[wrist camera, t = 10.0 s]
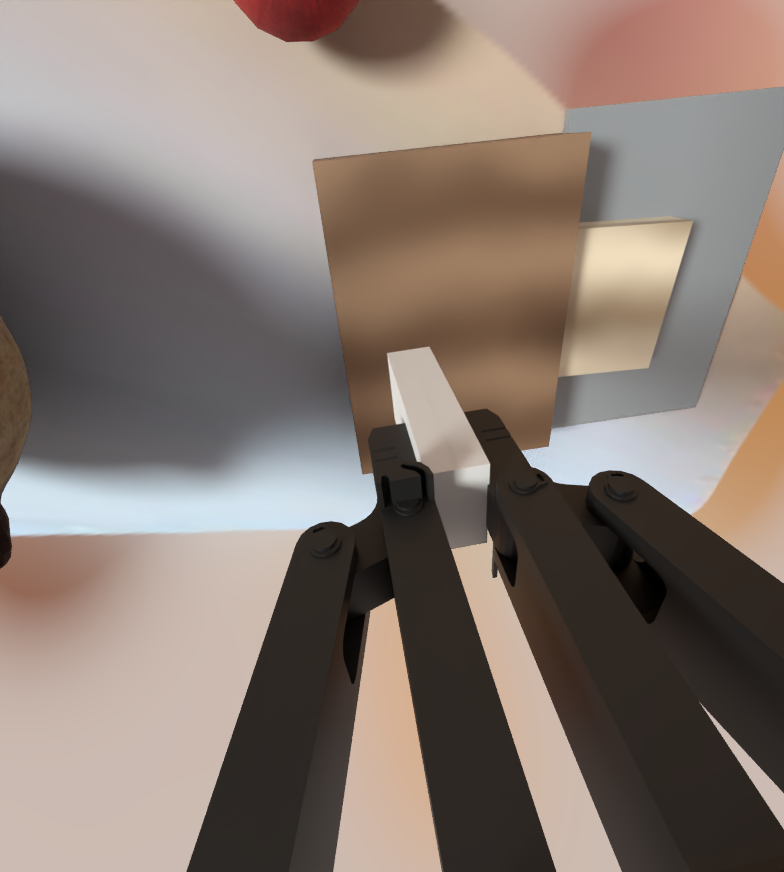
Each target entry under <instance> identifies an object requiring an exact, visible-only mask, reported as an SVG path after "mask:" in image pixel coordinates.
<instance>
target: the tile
mask: <svg viewBox="0 0 784 872" xmlns="http://www.w3.org/2000/svg"><path fill="white" fill-rule="evenodd" d="M692 224H693V221H691V220H686V219H681V218H677V217H672V216H665V217H651V218H637V219H622V220H608V221H594V222H579V228H578V236H577V243H576V250H575V258H574V265H573V272H572V280H571V287H570V294H569V302H568V309H567V316H566V324H565V331H564V338H563V346H562V353H561V360H560V368H559V375H558V377H563V376H573V375H583V374H593V373H603V372H613V371H623V370H633V369H643V368H649V365H650V361H651V358H652V355H653V351H654V348H655V345H656V342H657V338H658V335H659V332H660V329H661V325H662V322H663V319H664V315H665V312H666V309H667V306H668V302H669V299H670V296H671V292H672V289H673V286H674V283H675V279H676V276H677V273H678V270H679V266H680V263H681V260H682V256H683V253H684V250H685V247H686V243H687V240H688V237H689V233H690V230H691V227H692Z"/></svg>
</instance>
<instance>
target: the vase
mask: <svg viewBox="0 0 784 872" xmlns="http://www.w3.org/2000/svg"><path fill="white" fill-rule="evenodd" d="M31 412H32V398H31V392H30V385H29V378H28V374H27V370H26V366H25V363H24V359H23V357H22V354H21V352H20V349H19V347H18V345H17V343H16V342H15V340H14V338H13V337H12V335H11V333H10V331H9V330H8V328H7V326H6V325H5V323H4V321H3V320H2V318H1V316H0V502H1V495H2V492H3V490H4V488H5V486H6V484H7V483H8V481H9V479H10V478H11V476H12V474H13V472H14V470H15V468H16V466H17V464H18V461H19V458H20V455H21V452H22V449H23V447H24V444H25V441H26V438H27V436H28V432H29V426H30V421H31ZM11 549H12V543H11V537H10V528H9V518H8V515H7V513H6V511H5V509H4V508H3V506H2V505H1V503H0V568H2V567H3V566H4V565H5V564H7V562H8V561H9V559H10V557H11Z"/></svg>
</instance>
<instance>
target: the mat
mask: <svg viewBox="0 0 784 872" xmlns="http://www.w3.org/2000/svg"><path fill="white" fill-rule="evenodd" d="M579 132H592V133H591V140H590V148H589V155H588V162H587V170H586V177H585V184H584V192H583V199H582V206H581V214H580V221H579V222H594V221H608V220H622V219H637V218H651V217H665V216H672V217H677V218H681V219H686V220H691V221H693V224H692V227H691V230H690V233H689V237H688V240H687V243H686V247H685V250H684V253H683V256H682V260H681V263H680V266H679V270H678V273H677V276H676V279H675V283H674V286H673V289H672V292H671V296H670V299H669V302H668V306H667V309H666V312H665V315H664V319H663V322H662V325H661V329H660V332H659V335H658V338H657V342H656V345H655V348H654V351H653V355H652V358H651V361H650V365H649V368H643V369H633V370H623V371H613V372H603V373H593V374H583V375H573V376H563V377H558V382H557V390H556V397H555V404H554V412H553V419H552V426H551V428H558V427H565V426H572V425H578V424H585V423H592V422H599V421H605V420H612V419H619V418H626V417H632V416H639V415H646V414H653V413H659V412H666V411H673V410H680V409H686V408H693V407H695V406H696V403H697V400H698V397H699V395H700V392H701V389H702V386H703V383H704V380H705V377H706V374H707V371H708V368H709V365H710V363H711V360H712V357H713V354H714V351H715V348H716V345H717V342H718V339H719V336H720V333H721V330H722V328H723V325H724V322H725V319H726V316H727V313H728V310H729V307H730V304H731V301H732V298H733V296H734V293H735V290H736V287H737V284H738V281H739V278H740V275H741V272H742V269H743V266H744V264H745V260H746V257H747V255H748V251H749V249H750V246H751V243H752V240H753V237H754V234H755V231H756V228H757V226H758V222H759V220H760V217H761V214H762V211H763V208H764V205H765V202H766V199H767V196H768V194H769V191H770V188H771V185H772V182H773V179H774V176H775V173H776V170H777V167H778V164H779V161H780V159H781V156H782V153H783V150H784V87H777V88H767V89H757V90H748V91H740V92H739V91H738V92H729V93H719V94H710V95H700V96H691V97H681V98H672V99H662V100H652V101H643V102H634V103H624V104H614V105H605V106H596V107H586V108H576V109H568V110H566V113H565V122H564V131H563V133H579Z"/></svg>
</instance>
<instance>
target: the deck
mask: <svg viewBox="0 0 784 872" xmlns="http://www.w3.org/2000/svg"><path fill="white" fill-rule="evenodd" d="M591 133H592V132H579V133H557V134H546V135H537V136H528V137H518V138H509V139H500V140H491V141H481V142H472V143H463V144H453V145H444V146H435V147H426V148H416V149H407V150H398V151H389V152H379V153H370V154H361V155H351V156H342V157H333V158H324V159H314V160H313V162H312V163H313V169H314V175H315V182H316V188H317V194H318V200H319V206H320V213H321V219H322V225H323V231H324V238H325V244H326V250H327V256H328V263H329V269H330V275H331V281H332V287H333V294H334V300H335V306H336V312H337V319H338V325H339V331H340V337H341V344H342V350H343V356H344V362H345V368H346V375H347V381H348V387H349V393H350V400H351V406H352V412H353V418H354V424H355V431H356V437H357V443H358V449H359V456H360V462H361V468H362V474H368V473H373V469H372V463H371V457H370V451H369V445H368V438H369V435H370V433H371V431H372V429H373V428H378V427H384V426H390V425H396V421H395V417H394V408H393V400H392V391H391V382H390V374H389V365H388V356H387V353H391V352H398V351H404V350H410V349H417V348H423V347H430V349H431V351H432V353H433V354H434V356H435V358H436V360H437V362H438V364H439V366H440V368H441V370H442V372H443V374H444V376H445V378H446V380H447V382H448V383H449V385H450V387H451V389H452V391H453V393H454V395H455V397H456V399H457V401H458V403H459V405H460V407H461V409H462V410H463V412H468V411H474V410H480V409H486V408H487V409H488V410H490V411H492V412H493V413H495V414H496V415H498V416H499V417H500V419H501V420H502V422H503V423H504V425H505V427H506V429H507V430H508V431H509V433H510V434H511V438H513V439H514V441H515V442H516V444H517V445H518V447H519V449H520V450H528V449H534V448H541V447H548V446H549V441H550V434H551V426H552V419H553V412H554V404H555V397H556V390H557V382H558V375H559V368H560V360H561V353H562V346H563V338H564V331H565V324H566V316H567V309H568V302H569V294H570V287H571V280H572V272H573V265H574V258H575V250H576V243H577V236H578V228H579V221H580V214H581V206H582V199H583V192H584V184H585V177H586V170H587V162H588V155H589V148H590V140H591Z"/></svg>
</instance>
